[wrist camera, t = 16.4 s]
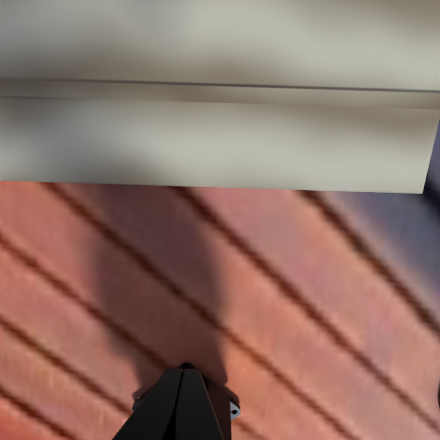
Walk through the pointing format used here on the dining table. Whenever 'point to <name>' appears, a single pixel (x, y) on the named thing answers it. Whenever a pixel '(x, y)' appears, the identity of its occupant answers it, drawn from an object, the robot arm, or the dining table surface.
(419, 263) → the dining table surface
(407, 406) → the dining table surface
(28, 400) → the dining table surface
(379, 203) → the dining table surface
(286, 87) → the laid plank
